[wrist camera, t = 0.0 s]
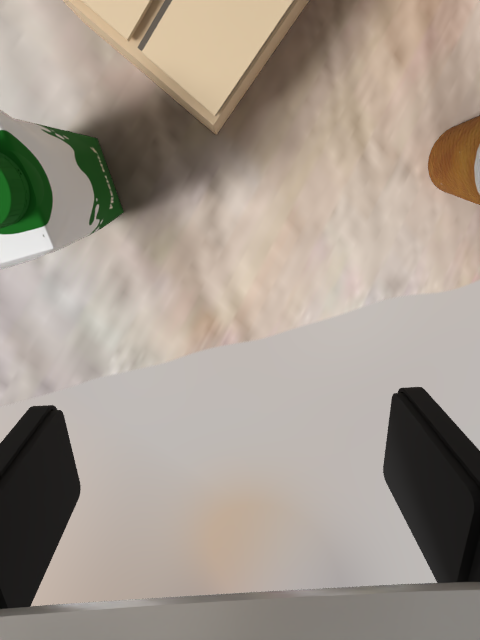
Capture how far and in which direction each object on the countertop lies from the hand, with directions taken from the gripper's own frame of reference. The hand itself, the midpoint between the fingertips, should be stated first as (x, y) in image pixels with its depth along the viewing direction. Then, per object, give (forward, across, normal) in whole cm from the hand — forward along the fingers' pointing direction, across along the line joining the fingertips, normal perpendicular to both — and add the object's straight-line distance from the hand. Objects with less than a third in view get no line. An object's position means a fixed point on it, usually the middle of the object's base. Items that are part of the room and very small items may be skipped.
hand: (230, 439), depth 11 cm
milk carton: (+31, +14, -6) cm, 35 cm away
